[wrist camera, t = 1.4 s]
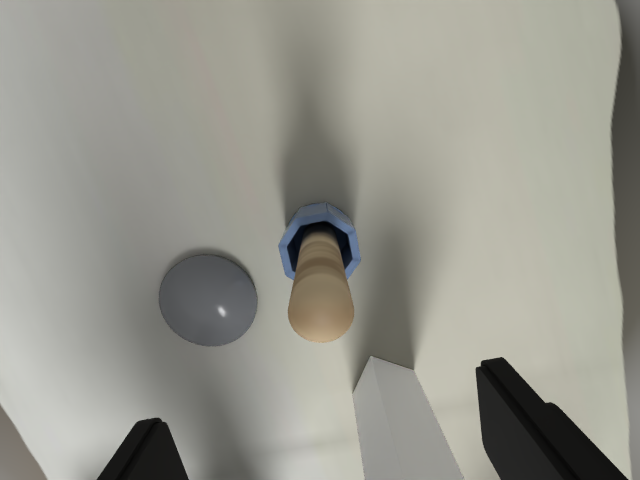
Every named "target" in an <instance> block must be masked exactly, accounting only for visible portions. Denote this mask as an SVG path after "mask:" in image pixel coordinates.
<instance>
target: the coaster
mask: <svg viewBox="0 0 640 480" xmlns="http://www.w3.org/2000/svg"><path fill="white" fill-rule="evenodd" d="M159 304H160V309H161V312H162V315H163V317H164V319H165V321H166V322H167V324H168V325H169V326H170V328H171V329H172V330H173V331H174V332H175V333H177V334H178V335H179V336H180V337H182V338H184V339H185V340H187V341H189V342H192V343H195V344H198V345H202V346H220V345H224V344H228V343H230V342H233V341H235V340H236V339H238V338H239V337H241V336H242V335H243V334H244V333H245V332H246V331H247V330H248V328H249V327H250V325H251V324H252V322H253V319H254V317H255V314H256V310H257V294H256V290H255V287H254V284H253V282H252V280H251V279H250V277H249V276H248V275H247V273H246V272H245V271H244V270H243V269H242V268H241V267H239V266H238V265H237V264H235V263H234V262H232V261H230V260H228V259H226V258H223V257H219V256H215V255H197V256H193V257H190V258H187V259H185V260H183V261H181V262H180V263H178V264H177V265H176V266H174V267H173V268H172V269H171V270H170V271H169V272H168V273H167V275H166V276H165V278H164V280H163V282H162V284H161V287H160V292H159Z"/></svg>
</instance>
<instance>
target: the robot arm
mask: <svg viewBox="0 0 640 480" xmlns="http://www.w3.org/2000/svg"><path fill="white" fill-rule="evenodd" d="M476 379H477V390H478V400H479V411H480V421H481V432H482V441H483V445H484V448H485V451H486V453H487V455H488V457H489V459H490V461H491V463H492V464H493V466H494V468H495V470H496V472H497V473H498V475H499V477H500V479H501V480H628V479H627V478H626V477H625V476H624V475H623V474H622V473H621V472H620V471H619V469H618V468H617V467H616V466H615V465H614V464H613V463H612V462H611V461H610V460H609V459H608V458H607V457H606V456H605V455H604V454H603V453H602V452H601V451H600V450H599V449H598V448H597V446H596V445H595V444H594V443H593V442H592V441H591V440H590V439H589V438H588V437H587V436H586V435H585V434H584V433H583V432H582V431H581V430H580V429H579V428H578V427H577V426H576V425H575V424H574V422H573V421H572V420H571V419H570V418H569V417H568V416H567V415H566V414H565V413H564V412H563V411H562V410H561V409H560V408H559V407H558V406H557V405H555V404H553V403H551V402H549V403H545V402H544V401H543V400H542V399H541V398H540V397H539V396H538V394H537V393H536V392H535V391H534V390H533V389H532V388H531V387H530V386H529V385H528V384H527V383H526V381H525V380H524V379H523V378H522V377H521V376H520V375H519V374H518V373H517V372H516V371H515V369H514V368H513V367H512V366H511V365H510V364H509V363H508V362H507V361H506V360H505V359H504V358H502V357H500V358H494V359H489V360H483V361H481V366H480V367H476ZM97 480H189V479H188V476H187V474H186V471H185V469H184V466H183V463H182V461H181V458H180V456H179V453H178V451H177V448H176V445H175V443H174V440H173V438H172V435H171V433H170V430H169V427H168V425H167V423H166V422H162V420H161V419H160V418H152V419H146V420H141V421H138V422H137V423H136V424H135V425H134V426H133V428H132V429H131V431H130V432H129V434H128V435H127V437H126V438H125V439H124V441H123V442H122V444H121V445H120V447H119V448H118V450H117V451H116V453H115V454H114V455H113V457H112V458H111V460H110V461H109V463H108V464H107V466H106V467H105V469H104V470H103V471H102V473H101V474H100V476H99V477H98V479H97Z"/></svg>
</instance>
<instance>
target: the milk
mask: <svg viewBox="0 0 640 480" xmlns="http://www.w3.org/2000/svg"><path fill="white" fill-rule="evenodd" d="M352 396H353V402H354V409H355V416H356V423H357V430H358V436H359V443H360V450H361V457H362V463H363V470H364V477H365V480H465V479H464V477H463V475H462V473H461V471H460V469H459V466H458V464H457V462H456V460H455V458H454V456H453V453H452V451H451V449H450V447H449V445H448V443H447V440H446V438H445V436H444V434H443V432H442V430H441V427H440V425H439V423H438V421H437V419H436V417H435V414H434V412H433V410H432V408H431V406H430V403H429V401H428V399H427V397H426V395H425V393H424V390H423V388H422V386H421V384H420V382H419V380H418V377H417V375H416V373H415V371H414V370H412V369H409V368H406V367H403V366H400V365H397V364H394V363H391V362H388V361H385V360H382V359H379V358H376V357H373V356H370V358H369V360H368V362H367V364H366V366H365V368H364V371H363V373H362V375H361V377H360V379H359V381H358V384H357V386H356V388H355V390H354V392H353V395H352Z"/></svg>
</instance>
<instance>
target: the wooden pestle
mask: <svg viewBox="0 0 640 480" xmlns="http://www.w3.org/2000/svg"><path fill="white" fill-rule="evenodd" d="M288 318H289V321H290V324H291V326H292V328H293V329H294V330H295V332H296V333H297V334H298V335H300V336H301V337H303V338H304V339H306V340H309V341H312V342H318V343H324V342H330V341H333V340H336V339H338V338H339V337H341V336H342V335H343V334H345V333H346V332H347V330H348V329H349V328H350V326H351V324H352V322H353V318H354V306H353V302H352V298H351V294H350V290H349V286H348V281H347V277H346V273H345V269H344V265H343V261H342V257H341V253H340V249H339V245H338V241H337V237H336V233H335V230H334V228H333V227H332V226H331V225H330V224H329V223H327V222H324V221H320V222H315V223H310V224H309V225H308V226H307V227H306V228H305V230H304V233H303V238H302V242H301V247H300V252H299V257H298V262H297V267H296V272H295V277H294V282H293V287H292V292H291V297H290V302H289V307H288Z"/></svg>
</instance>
